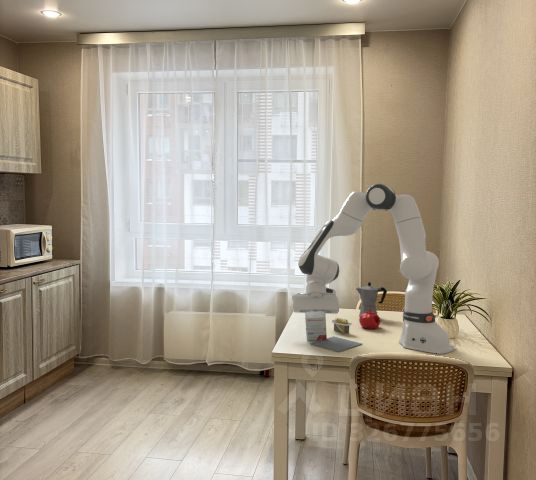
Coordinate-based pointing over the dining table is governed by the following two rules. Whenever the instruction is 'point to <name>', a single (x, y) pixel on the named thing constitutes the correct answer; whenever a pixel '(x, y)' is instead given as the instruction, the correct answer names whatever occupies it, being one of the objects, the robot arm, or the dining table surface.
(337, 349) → the mat
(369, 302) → the coffeepot
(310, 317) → the ink box
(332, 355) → the dining table surface
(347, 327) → the rectangular planter
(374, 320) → the pomegranate
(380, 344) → the dining table surface
